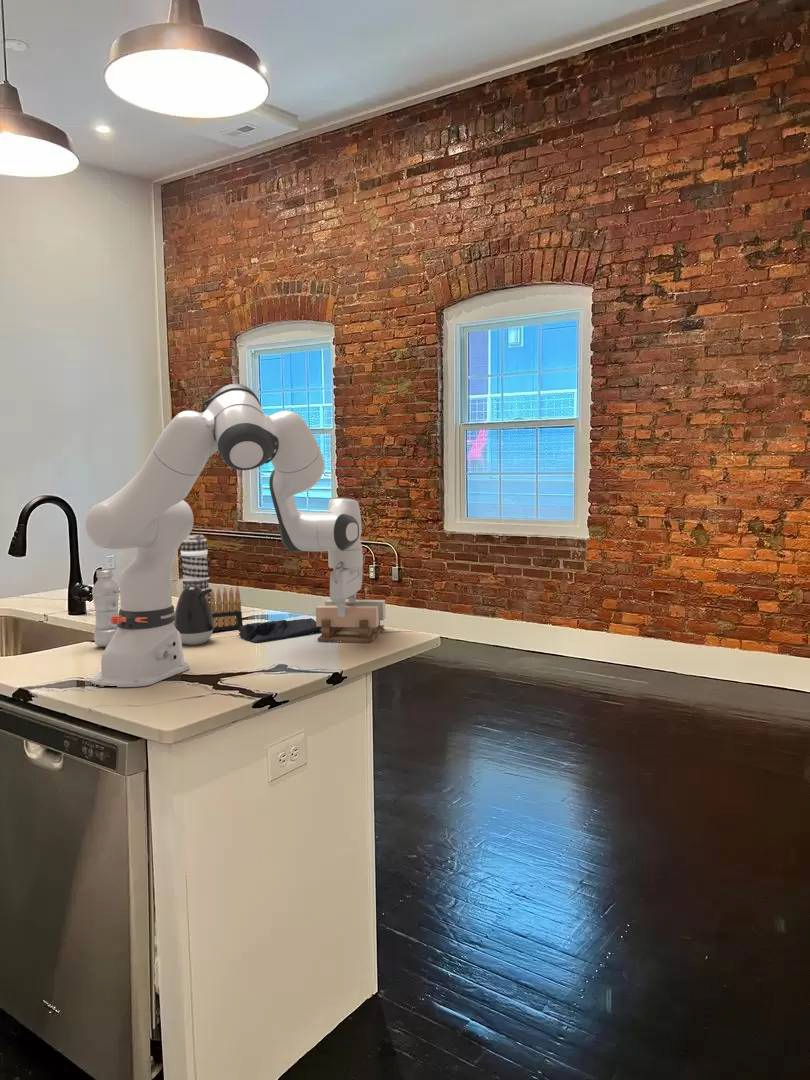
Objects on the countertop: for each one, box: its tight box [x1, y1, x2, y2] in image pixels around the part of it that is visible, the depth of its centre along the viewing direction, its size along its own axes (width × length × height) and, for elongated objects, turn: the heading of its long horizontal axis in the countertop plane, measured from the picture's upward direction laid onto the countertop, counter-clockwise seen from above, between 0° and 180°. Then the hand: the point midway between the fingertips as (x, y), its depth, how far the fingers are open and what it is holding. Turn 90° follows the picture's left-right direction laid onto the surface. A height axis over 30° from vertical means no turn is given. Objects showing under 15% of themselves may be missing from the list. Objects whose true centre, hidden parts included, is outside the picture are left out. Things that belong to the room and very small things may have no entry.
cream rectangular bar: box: [324, 599, 387, 621], centre depth 216 cm, size 16×3×5 cm, turn 80°
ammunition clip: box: [205, 586, 244, 632], centre depth 222 cm, size 11×2×12 cm, turn 113°
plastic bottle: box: [91, 568, 120, 648], centre depth 204 cm, size 6×7×20 cm
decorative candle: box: [178, 534, 211, 605], centre depth 242 cm, size 9×9×25 cm
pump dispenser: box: [173, 585, 214, 646], centre depth 206 cm, size 10×10×15 cm
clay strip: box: [315, 605, 379, 627], centre depth 207 cm, size 16×3×5 cm, turn 80°
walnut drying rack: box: [317, 620, 385, 644], centre depth 212 cm, size 17×14×6 cm
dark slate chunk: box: [237, 618, 322, 644], centre depth 216 cm, size 15×22×5 cm
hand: (347, 612), depth 207 cm, fingers open, 8 cm apart
